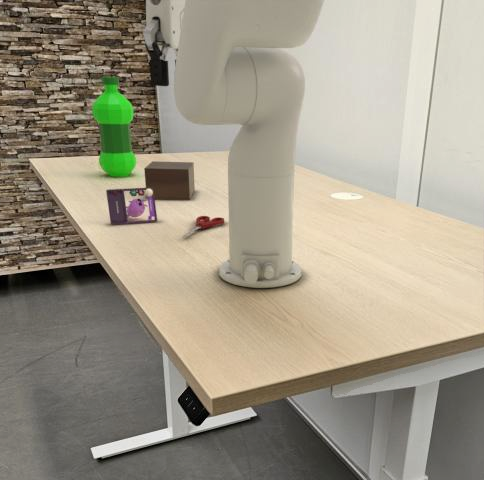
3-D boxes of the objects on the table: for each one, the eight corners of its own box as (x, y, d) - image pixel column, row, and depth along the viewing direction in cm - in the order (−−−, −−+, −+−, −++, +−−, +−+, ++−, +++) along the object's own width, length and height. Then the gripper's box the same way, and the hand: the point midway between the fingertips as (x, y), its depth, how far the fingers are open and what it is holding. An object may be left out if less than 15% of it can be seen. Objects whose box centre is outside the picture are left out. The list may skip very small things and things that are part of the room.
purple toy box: (106, 189, 110) (153, 186, 114) (104, 193, 115) (149, 190, 119) (111, 224, 111) (158, 221, 115) (108, 226, 116) (153, 223, 119)
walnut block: (189, 199, 134) (188, 169, 131) (146, 198, 134) (144, 168, 131) (194, 191, 143) (193, 162, 140) (154, 190, 143) (152, 161, 140)
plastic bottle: (141, 177, 157) (133, 78, 147) (100, 179, 153) (89, 77, 143) (136, 171, 165) (128, 76, 155) (97, 172, 162) (87, 76, 151)
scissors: (226, 222, 116) (225, 217, 116) (197, 240, 104) (197, 234, 104) (201, 219, 117) (201, 214, 117) (170, 237, 105) (169, 231, 105)
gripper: (164, -33, 88) (170, 88, 95) (208, -20, 103) (210, 83, 110) (120, -34, 89) (129, 85, 97) (170, -21, 104) (174, 81, 112)
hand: (172, 84), depth 103 cm, fingers open, 9 cm apart
